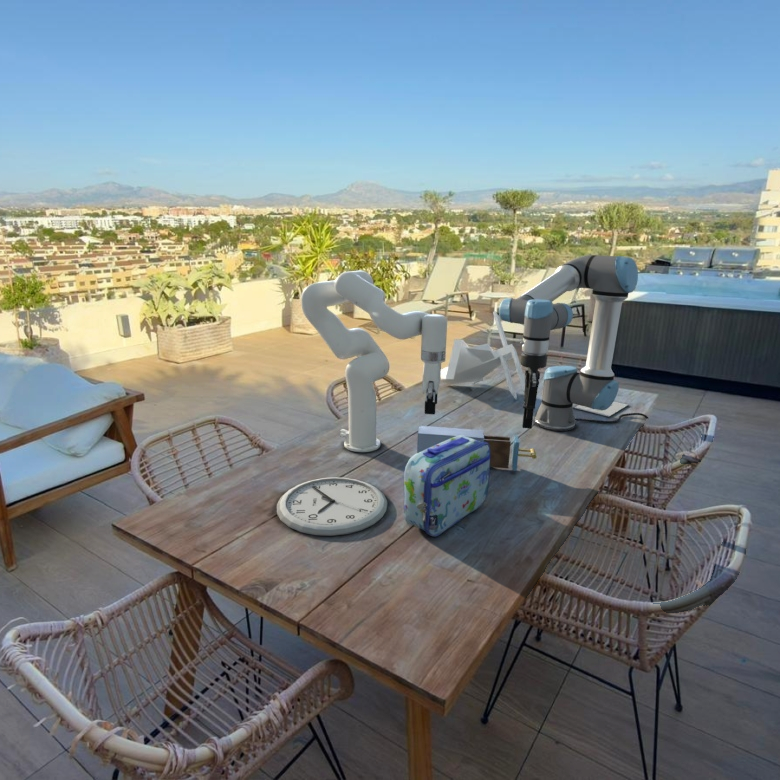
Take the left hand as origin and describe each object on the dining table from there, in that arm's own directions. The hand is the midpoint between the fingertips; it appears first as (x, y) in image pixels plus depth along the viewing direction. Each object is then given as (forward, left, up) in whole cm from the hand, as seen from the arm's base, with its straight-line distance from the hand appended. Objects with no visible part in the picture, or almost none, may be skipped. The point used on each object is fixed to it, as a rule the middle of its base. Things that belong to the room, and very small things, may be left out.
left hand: (430, 408), depth 164 cm
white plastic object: (-8, +82, -19) cm, 84 cm away
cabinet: (+6, +2, -19) cm, 20 cm away
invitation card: (+44, +88, -19) cm, 100 cm away
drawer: (+20, +7, -18) cm, 27 cm away
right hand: (+28, +9, -4) cm, 30 cm away
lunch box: (+17, -29, -19) cm, 38 cm away
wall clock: (-13, -38, -19) cm, 44 cm away
